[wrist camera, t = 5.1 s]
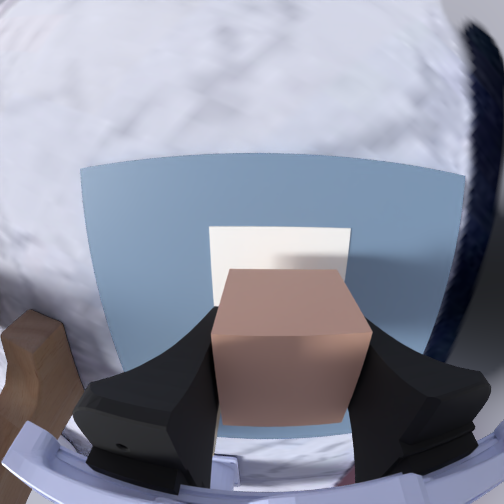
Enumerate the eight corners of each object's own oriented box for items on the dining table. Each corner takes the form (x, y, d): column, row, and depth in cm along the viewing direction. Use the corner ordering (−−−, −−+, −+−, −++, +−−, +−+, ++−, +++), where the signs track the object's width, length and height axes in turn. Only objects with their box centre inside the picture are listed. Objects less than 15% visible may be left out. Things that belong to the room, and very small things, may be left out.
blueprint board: (383, 422, 19) (385, 427, 19) (150, 421, 20) (148, 427, 20) (459, 174, 12) (466, 176, 11) (86, 167, 13) (79, 168, 12)
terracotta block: (323, 351, 13) (341, 422, 8) (233, 351, 13) (222, 424, 9) (336, 269, 11) (372, 331, 7) (229, 268, 11) (211, 333, 7)
